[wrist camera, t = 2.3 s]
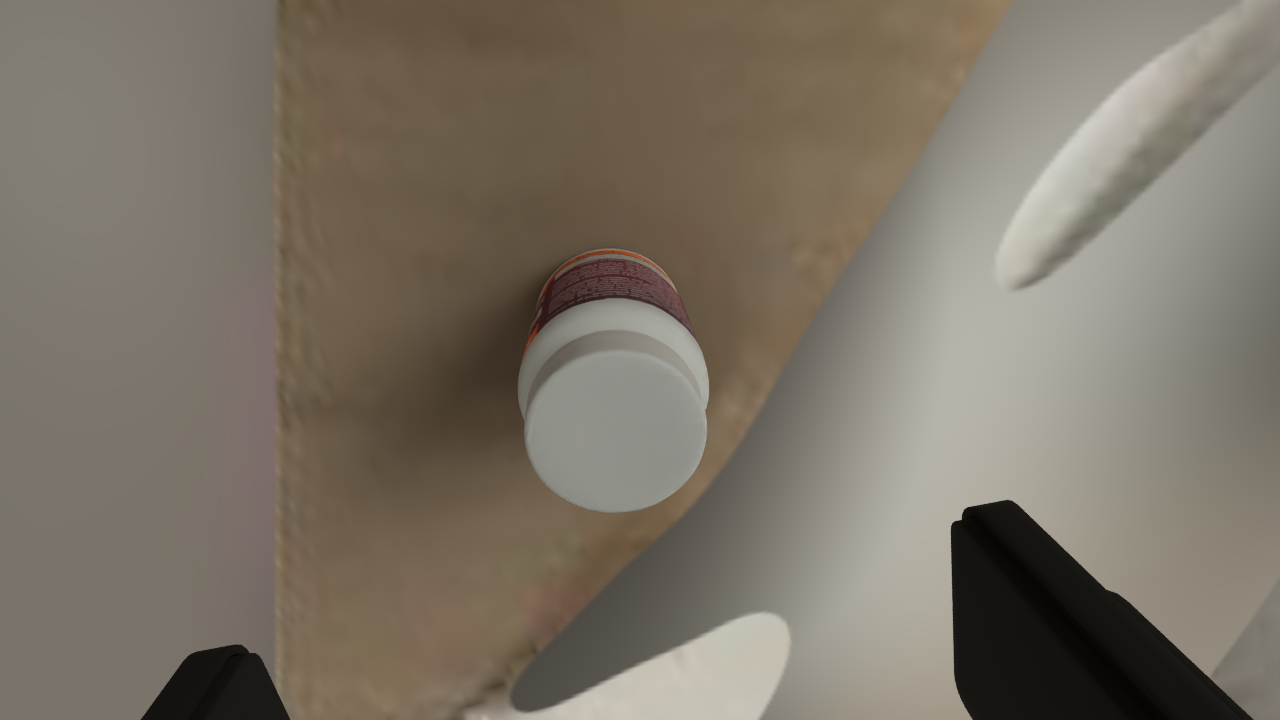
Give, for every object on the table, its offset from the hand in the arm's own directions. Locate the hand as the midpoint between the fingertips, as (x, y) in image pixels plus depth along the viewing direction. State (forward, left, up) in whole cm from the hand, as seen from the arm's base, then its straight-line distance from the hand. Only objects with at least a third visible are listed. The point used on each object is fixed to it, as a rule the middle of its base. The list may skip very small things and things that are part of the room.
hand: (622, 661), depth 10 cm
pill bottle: (0, 0, -15) cm, 15 cm away
